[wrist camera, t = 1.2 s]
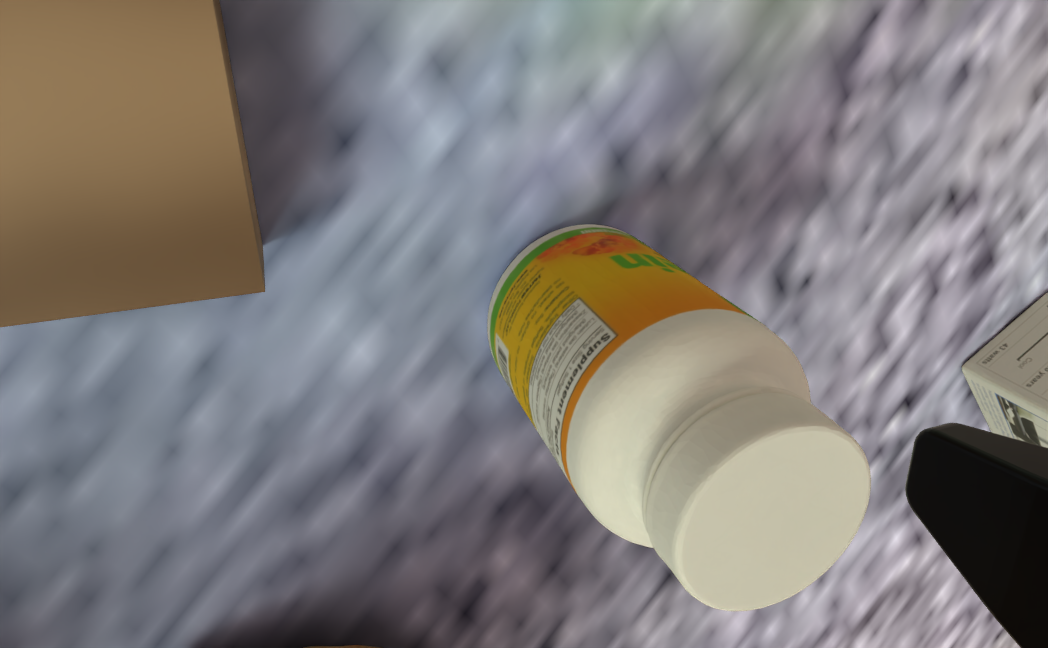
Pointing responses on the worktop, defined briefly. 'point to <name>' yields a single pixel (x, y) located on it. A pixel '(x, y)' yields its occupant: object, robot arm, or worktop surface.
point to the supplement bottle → (676, 417)
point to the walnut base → (120, 160)
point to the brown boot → (351, 647)
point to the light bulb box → (1015, 377)
